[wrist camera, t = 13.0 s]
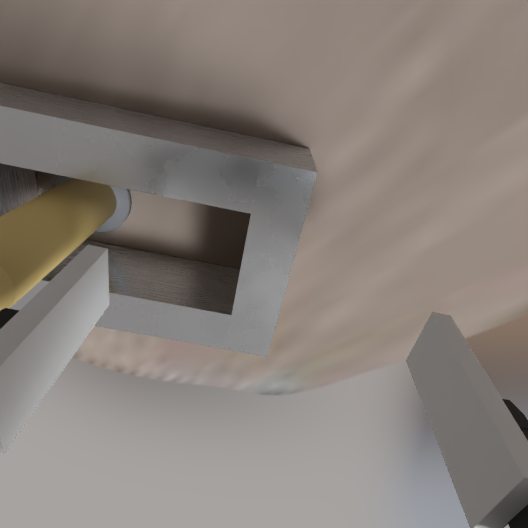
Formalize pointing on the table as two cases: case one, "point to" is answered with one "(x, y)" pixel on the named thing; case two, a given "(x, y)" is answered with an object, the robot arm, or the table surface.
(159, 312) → the link
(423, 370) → the robot arm
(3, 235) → the post
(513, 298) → the table surface
